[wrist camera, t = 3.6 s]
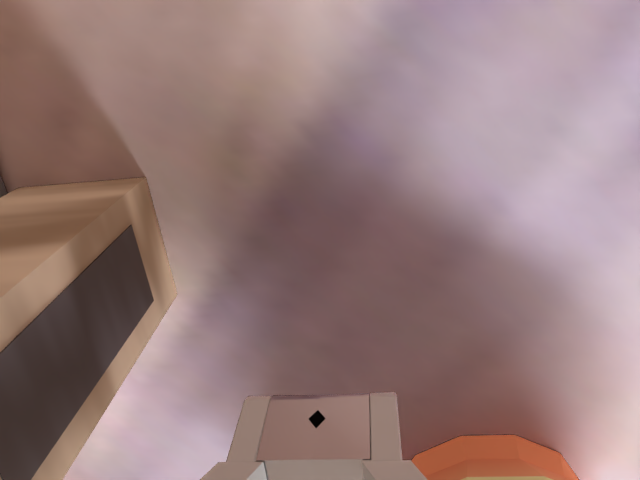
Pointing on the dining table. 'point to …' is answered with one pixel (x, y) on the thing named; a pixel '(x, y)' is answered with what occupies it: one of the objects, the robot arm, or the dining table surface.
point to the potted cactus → (492, 460)
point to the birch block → (72, 313)
